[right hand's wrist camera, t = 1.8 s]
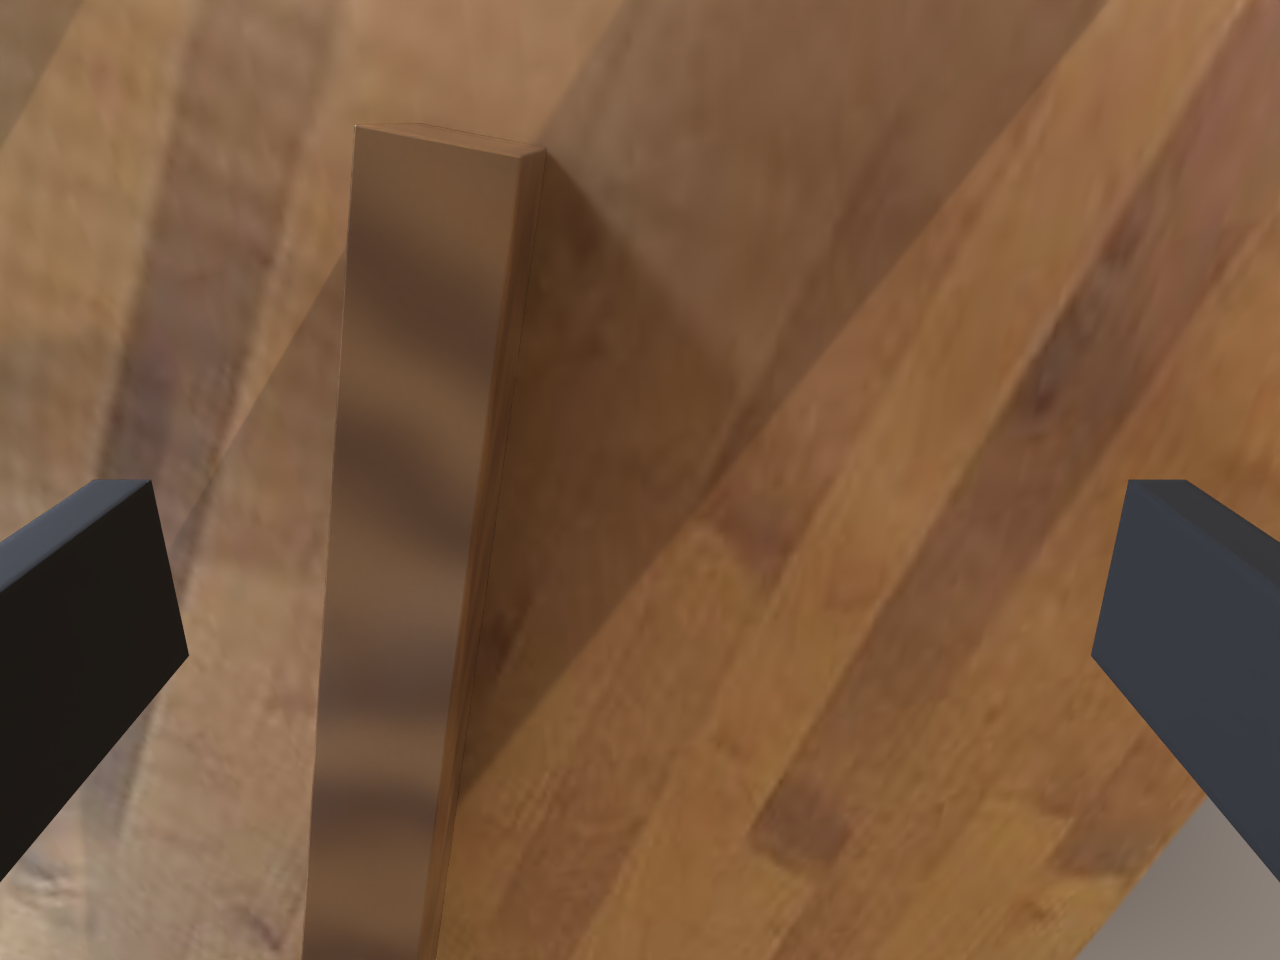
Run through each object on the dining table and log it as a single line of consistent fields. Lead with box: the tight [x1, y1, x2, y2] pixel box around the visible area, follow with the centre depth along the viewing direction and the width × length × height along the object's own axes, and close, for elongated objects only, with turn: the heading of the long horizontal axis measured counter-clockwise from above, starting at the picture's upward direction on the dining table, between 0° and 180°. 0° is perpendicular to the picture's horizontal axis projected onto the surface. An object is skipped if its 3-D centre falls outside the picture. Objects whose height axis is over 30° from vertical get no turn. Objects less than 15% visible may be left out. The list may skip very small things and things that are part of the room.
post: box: [301, 123, 547, 960], centre depth 43 cm, size 67×5×8 cm, turn 170°
